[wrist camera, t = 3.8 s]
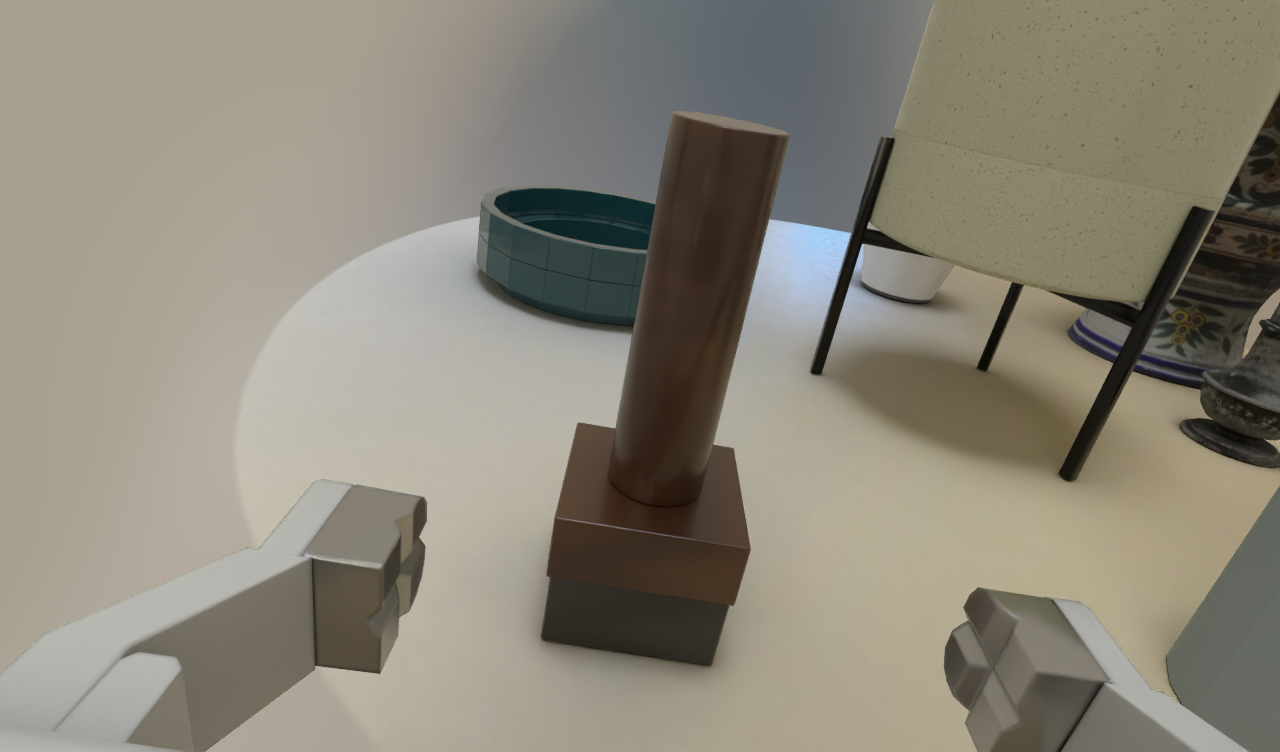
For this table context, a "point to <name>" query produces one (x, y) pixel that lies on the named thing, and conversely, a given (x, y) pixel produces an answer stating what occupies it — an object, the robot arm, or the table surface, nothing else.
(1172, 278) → the planter
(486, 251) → the dish
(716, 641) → the post on square base
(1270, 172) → the vase
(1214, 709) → the spray bottle
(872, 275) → the cup
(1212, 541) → the table surface
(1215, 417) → the salt shaker
